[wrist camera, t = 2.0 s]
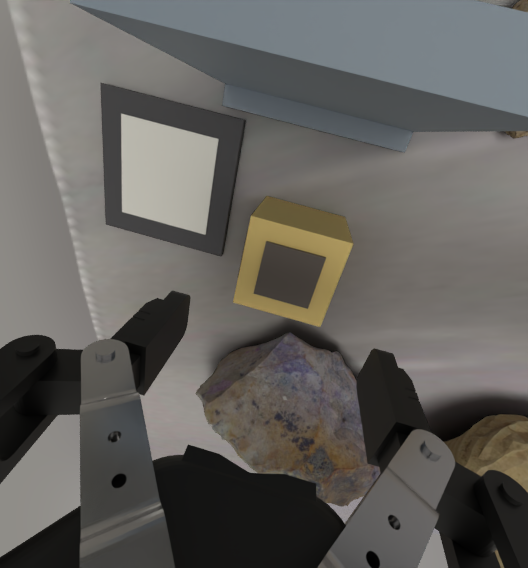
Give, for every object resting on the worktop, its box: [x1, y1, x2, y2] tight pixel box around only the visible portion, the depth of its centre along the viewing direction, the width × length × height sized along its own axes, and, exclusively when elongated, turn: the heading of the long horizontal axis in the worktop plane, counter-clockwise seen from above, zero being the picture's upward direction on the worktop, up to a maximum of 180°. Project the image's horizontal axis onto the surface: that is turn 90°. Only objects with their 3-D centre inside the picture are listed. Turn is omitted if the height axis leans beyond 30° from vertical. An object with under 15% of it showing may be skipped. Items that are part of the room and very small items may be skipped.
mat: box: [101, 83, 246, 256], centre depth 22 cm, size 10×10×1 cm
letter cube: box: [233, 196, 353, 327], centre depth 21 cm, size 6×6×6 cm
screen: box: [70, 0, 528, 152], centre depth 12 cm, size 4×12×14 cm, turn 77°
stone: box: [196, 332, 380, 506], centre depth 25 cm, size 18×10×15 cm
